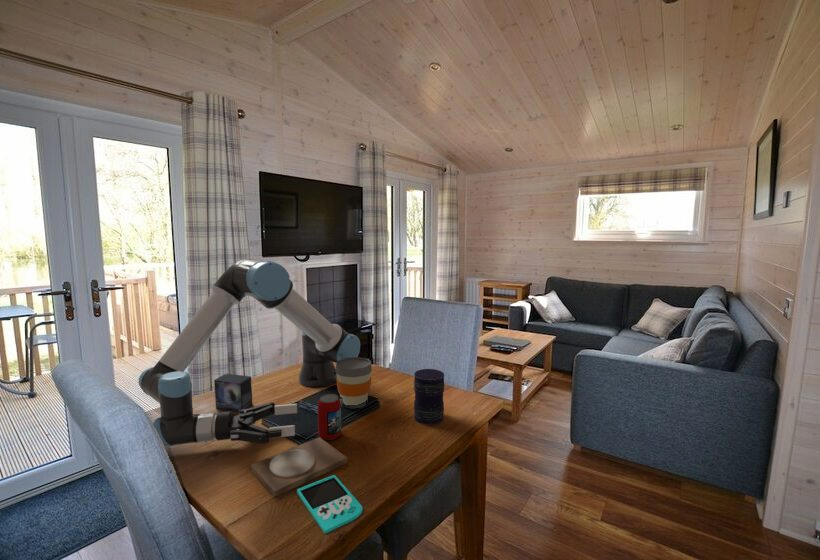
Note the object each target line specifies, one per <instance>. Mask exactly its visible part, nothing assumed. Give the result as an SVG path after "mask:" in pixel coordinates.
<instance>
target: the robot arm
mask: <svg viewBox="0 0 820 560" xmlns="http://www.w3.org/2000/svg"><path fill="white" fill-rule="evenodd" d="M290 278H291V276H290V273H289V272H288V270H287V269H286V268H285V267H284V266H283V265H281V264H279V263H277V262H275V261H270V260H261V259H260V260H259V259H250V258H245V259H241V260H238V261H236V262H234V263H233V264H231V266H229V267H228V268H227V269H226V270H225V271H224V272H223V273H222V274H221V275H220V277H219V278H218V279H217V281H216V282H215V283H214V284H213V285H212V287H211V288H212V290H211V291H212V292H211V293H210V294H209V296H208V297H207V298H206V299H205V301H204V302H203V304H202V305H201V306H200V308H199V309H198V310H197V311H196V312H195V314H194V315H193V316H192V318H191V319H190V320H189V321H188V323H186V325H185V326H184V328H183V329H182V330H181V332H180V333H179V334H178V336H177V337H176V338H175V339H174V341H172V343H171V345H169V347H168V348H167V350H166V351H165V352H164V354H163V355H162V356H161V357H160V359H159V360H158V361H157V363H155V365H154V366H151V367H148V368H147V369H145V370H143V372H141V374H140V376H139V377H138V386H139V388H140V389H141V390H142V391H143V393H145V395H147V396H149V397H150V398H152V399H153V400H155V401H156V402H157V403H158V404H159V408H160V417H157V418H155V420H154V421H153V423H152V425H154V427H155V428H156V430H157V432H158V434H159V436H160V438H161V440H162V442H163V444H164V446H163V447H166V446H170V447H174V446H178V445H185V444H194V443H208V442H214V441H216V440H217V441H226V440H230V441H232V442H234V441H235V442H239V441H240V442H246V443H253V444H261V445H264V444H267V443H270V439H275V438H282V437H283V438H284V437H293V436H294V437H295V436H296V435H295V434H296V432H295V431H296V427H295V426H296V425H295V424H292V425H290V424H289V425H281V426H271V427H269V429H268V428H264V427H261V426H258V425H255V423H256V422H258V421H260V420H262V419H264V418H267V417H269V416H271V415H274V416H278V415H279V416H280V415H291V414H298V403H289V404H280V405H279V404H277V405H276V403H275V402H271V401H270V402H268V403H263V404H260V405H256V406H253V407H248V408H247V409H242V410H239V414H238V415H235V414H234V411H231V410H226V411H219V412H215V411H214V412H204V413H193V412H194V408H193V394H192V392H193V391H192V389H193V386H192V385H193V384H192V381H191V375H190V373H188V372H187V371H186V369H187V368H188V367H189V365H190V364H191V362H193V360H194V359H195V357H196V356H197V355H198V353H199V352H200V351H201V350H202V348H203V347H204V345H205V344H206V343H207V342H208V340H209V339H210V338H211V336H212V335H213V333H215V330H216V329H217V328H218V327H219V325H220V324H221V323H222V321H223V320H224V319H225V317H226V316H227V315H228V313H229V312H230V310H232V308H233V307H234V305H239V304H240V302H242V300H243V299H244V298H245V297H247V296H248V297H251V298H252V299H255V301H257V302H259V303H260V304H261V305H262V306H263V307H265V308H266V309H268V310H270V309H275V311H277V312H278V313H280V314H281V315H282V316H283V317H285V319H287V320H288V321H289V322H291V323H292V324H293V325H294V326H295V327H296V328H298V329H299V330H300V331H301V339H302V340H301V341H302V365H301V367H300V372H299V375H298V382H299V384H300V385H301V386H305V387H309V388H310V387H312V388H313V387H315V388H317V387H325V386H328V385H333V383H335V382H337V373H336V365H335V364H336V363H337V362H338V361H339V360H342V359H345V358H351V357H358V356H359V354H360V351H361V341H360V339H359V337H358V336H357V335H355V334H353V333H349V332H347V331H346V330H345V329H344V328H343V327H342V326H340V325H339V324H337V323H331V322H330V321H329V320H328V319H327V318H326V317H325V316H324V315H322V314H321V313H320V312H319V311H318V310H317V309H315V307H314V306H312V305H311V303H309V301H307V300H306V299H305V298H304V297H303V296H302V295H300V294H299V292H298V291H296V290H295V289H294V282H293V281H292V280H291V279H290ZM334 363H335V364H334Z"/></svg>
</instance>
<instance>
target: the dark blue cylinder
mask: <svg viewBox="0 0 820 560" xmlns="http://www.w3.org/2000/svg"><path fill="white" fill-rule="evenodd" d="M413 376H414V378H413V379H414V381H413V385H414V386H413V389H414V390H413V391H414V402H413V403H414V404H413V414H414V415H413V420H414V421H415V422H416V423H418V424H420V425H423V426H435V425H439V424H441V423H442V422H443V421H444V412H445V407H444V406H445V405H444V402H445V401H444V392H445V373H444V372H443V371H442V370H439V369H435V368H423V369H419V370H416V371H415V372H414V375H413Z"/></svg>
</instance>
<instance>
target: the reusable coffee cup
mask: <svg viewBox="0 0 820 560" xmlns="http://www.w3.org/2000/svg"><path fill="white" fill-rule="evenodd" d="M335 364H336V365H335V369H336V373H337V380H336V386H337V392H338V394H339V396H340V397H342V398H343V402H344V404H345V405H358V404H361V403H363V402H365V401H366V400H367V401H368V398H369V397H368V396H369V392H370V391H371V390H370V389H371V383H372V376H371V373H372V371H373V368H372V361H371V360H370V359H369V358H364V357H358V356H357V357H351V358H345V359H342V360H339V361H338V362H337V363H335Z"/></svg>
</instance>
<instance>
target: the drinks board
mask: <svg viewBox="0 0 820 560" xmlns="http://www.w3.org/2000/svg"><path fill="white" fill-rule="evenodd" d="M347 463H348V457H347V456H346V455H345V454H343V453H341V452H340V451H339V450H338V449H336V448H335V447H333V446H332V445H331V444H330V443H328V442H327V440H324V439H322V438H320V437H319V436H318V437H317V438H315V439H314V438H313V439H311V440H309V441H306V442H304V443H301V444H299V445H296V446H294V447H291V448H289V449H286V450H285V451H284V450H283V451H281V452H279V453H276V454H274V455H271V456H268V457H266V458H264V459H262V460H258V461H256V462H254V463H251V464H250V471H251V473H252V474H253V475H255V477H256V478H257V479H258V481H260V482H261V484H262V485H263V486H264V487H265V488H266V490H267V491H268V492H269V493H270V494H271V496H273V497H274V498H276V497H278V496H282V494H285V493H287V492H290V491H291V490H293V489H296V488H297V487H299V486H302V485H304V484H305V483H306V484H307V483H308V482H310V481H312V480H314V479H316V478H318V477H321V476H323V475H325V474H326V473H329V472H331V471H333V470H335V469H338V468H340V467H341V466H344V465H346V464H347Z"/></svg>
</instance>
